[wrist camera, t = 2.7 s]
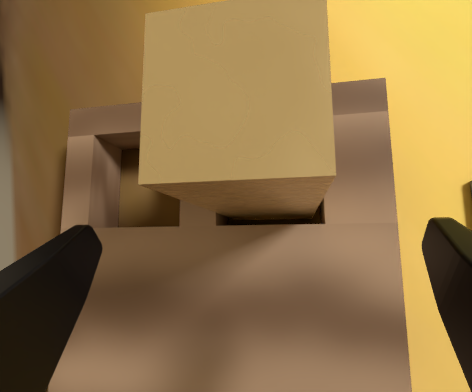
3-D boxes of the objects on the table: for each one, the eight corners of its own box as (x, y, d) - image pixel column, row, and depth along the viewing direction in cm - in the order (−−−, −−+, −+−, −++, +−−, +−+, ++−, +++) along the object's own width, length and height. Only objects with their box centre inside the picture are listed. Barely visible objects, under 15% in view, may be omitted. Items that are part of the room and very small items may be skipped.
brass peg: (311, 218, 18) (336, 175, 6) (236, 220, 19) (138, 184, 7) (308, 144, 19) (325, -16, 7) (236, 149, 20) (145, 13, 8)
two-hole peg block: (394, 405, 16) (415, 442, 13) (84, 378, 19) (47, 402, 16) (371, 103, 18) (385, 77, 15) (100, 127, 22) (70, 109, 19)
